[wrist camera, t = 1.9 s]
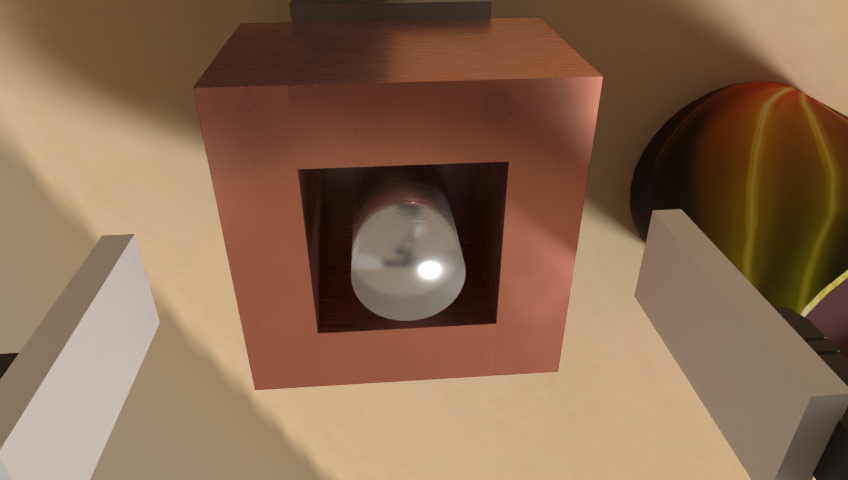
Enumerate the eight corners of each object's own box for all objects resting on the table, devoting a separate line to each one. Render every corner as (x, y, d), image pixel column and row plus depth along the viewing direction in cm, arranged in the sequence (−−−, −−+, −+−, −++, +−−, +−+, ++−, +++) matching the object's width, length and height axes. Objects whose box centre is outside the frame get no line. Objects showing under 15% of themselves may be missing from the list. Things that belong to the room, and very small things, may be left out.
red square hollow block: (240, 23, 18) (192, 88, 13) (539, 17, 19) (603, 76, 14) (279, 272, 23) (255, 389, 18) (516, 261, 24) (557, 371, 19)
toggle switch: (306, -28, 23) (253, 77, 12) (464, -31, 24) (551, 68, 13) (328, 205, 28) (305, 425, 17) (457, 200, 29) (514, 411, 18)
